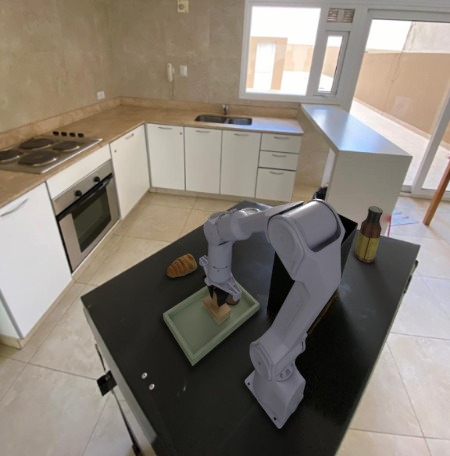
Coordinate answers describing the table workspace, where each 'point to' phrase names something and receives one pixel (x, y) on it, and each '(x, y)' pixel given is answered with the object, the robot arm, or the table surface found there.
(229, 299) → the grime patch
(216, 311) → the wooden stamp
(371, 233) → the sauce bottle
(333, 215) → the robot arm
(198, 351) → the tray
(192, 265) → the pastry
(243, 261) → the table surface
